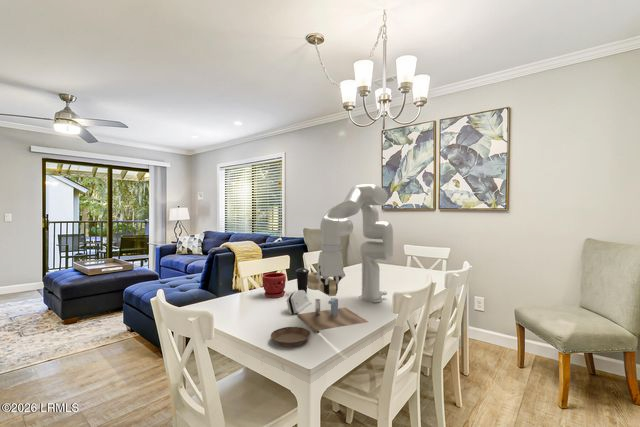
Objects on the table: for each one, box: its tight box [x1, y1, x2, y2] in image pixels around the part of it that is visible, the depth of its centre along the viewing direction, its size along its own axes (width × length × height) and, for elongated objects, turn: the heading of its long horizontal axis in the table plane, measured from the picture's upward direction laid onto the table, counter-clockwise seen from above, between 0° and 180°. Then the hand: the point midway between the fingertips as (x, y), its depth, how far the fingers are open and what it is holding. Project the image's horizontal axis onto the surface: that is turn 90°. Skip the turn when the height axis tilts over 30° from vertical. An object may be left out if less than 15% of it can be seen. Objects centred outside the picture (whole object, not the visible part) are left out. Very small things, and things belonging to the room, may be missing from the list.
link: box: [307, 271, 337, 297], centre depth 135 cm, size 20×9×6 cm, turn 24°
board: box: [297, 307, 369, 334], centre depth 136 cm, size 24×21×1 cm
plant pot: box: [261, 272, 287, 299], centre depth 175 cm, size 13×13×12 cm
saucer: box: [270, 326, 312, 348], centre depth 115 cm, size 15×15×3 cm
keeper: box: [328, 297, 339, 317], centre depth 138 cm, size 5×5×8 cm
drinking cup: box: [295, 259, 310, 295], centre depth 178 cm, size 8×8×20 cm
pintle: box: [314, 298, 321, 316], centre depth 140 cm, size 2×2×8 cm
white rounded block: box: [286, 289, 312, 315], centre depth 151 cm, size 17×5×10 cm, turn 160°
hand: (330, 292), depth 127 cm, fingers closed on link, 3 cm apart
